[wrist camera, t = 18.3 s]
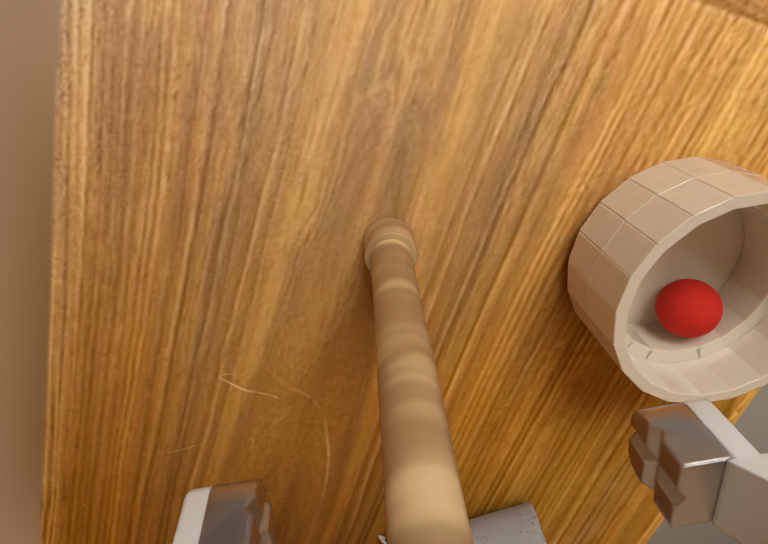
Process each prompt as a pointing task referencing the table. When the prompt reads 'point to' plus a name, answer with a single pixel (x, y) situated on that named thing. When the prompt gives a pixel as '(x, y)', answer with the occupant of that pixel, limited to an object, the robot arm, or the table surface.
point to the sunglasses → (383, 539)
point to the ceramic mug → (508, 526)
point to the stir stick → (410, 400)
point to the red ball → (688, 308)
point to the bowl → (678, 276)
